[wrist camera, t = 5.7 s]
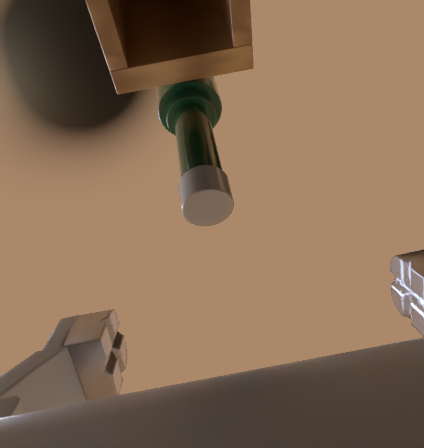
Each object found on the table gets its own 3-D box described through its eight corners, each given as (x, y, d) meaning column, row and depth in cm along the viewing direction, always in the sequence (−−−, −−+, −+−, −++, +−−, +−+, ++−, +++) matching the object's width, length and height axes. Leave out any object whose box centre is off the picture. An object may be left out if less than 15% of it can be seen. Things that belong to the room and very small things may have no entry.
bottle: (199, 12, 33) (205, 63, 36) (147, 21, 33) (158, 71, 36) (247, 170, 19) (250, 228, 22) (158, 185, 19) (174, 241, 22)
